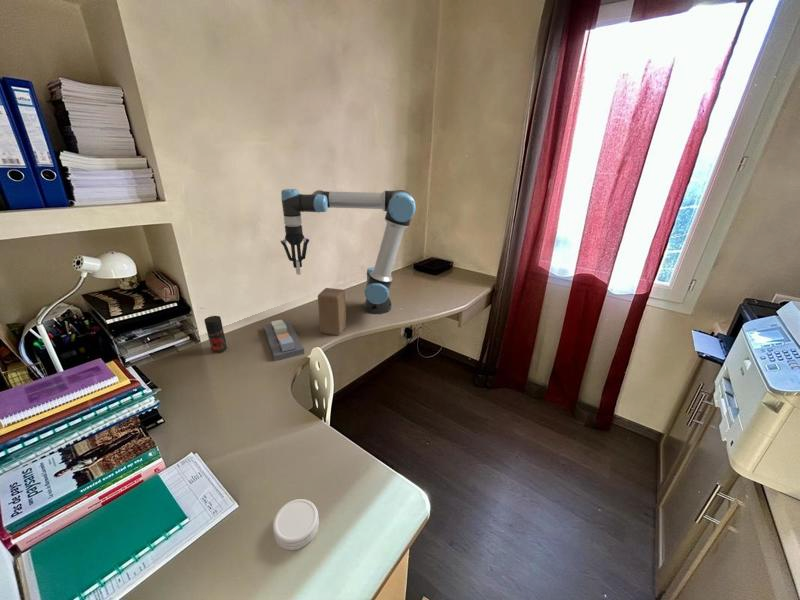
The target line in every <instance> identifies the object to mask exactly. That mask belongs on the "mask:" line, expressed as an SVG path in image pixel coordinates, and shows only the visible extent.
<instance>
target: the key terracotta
mask: <svg viewBox="0 0 800 600" xmlns="http://www.w3.org/2000/svg"><path fill="white" fill-rule="evenodd" d="M276 337H277V342H278V344H280V342H279V339H281V338H286V337H290V336H289V333H284V334H279V335H277V336H276Z"/></svg>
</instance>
